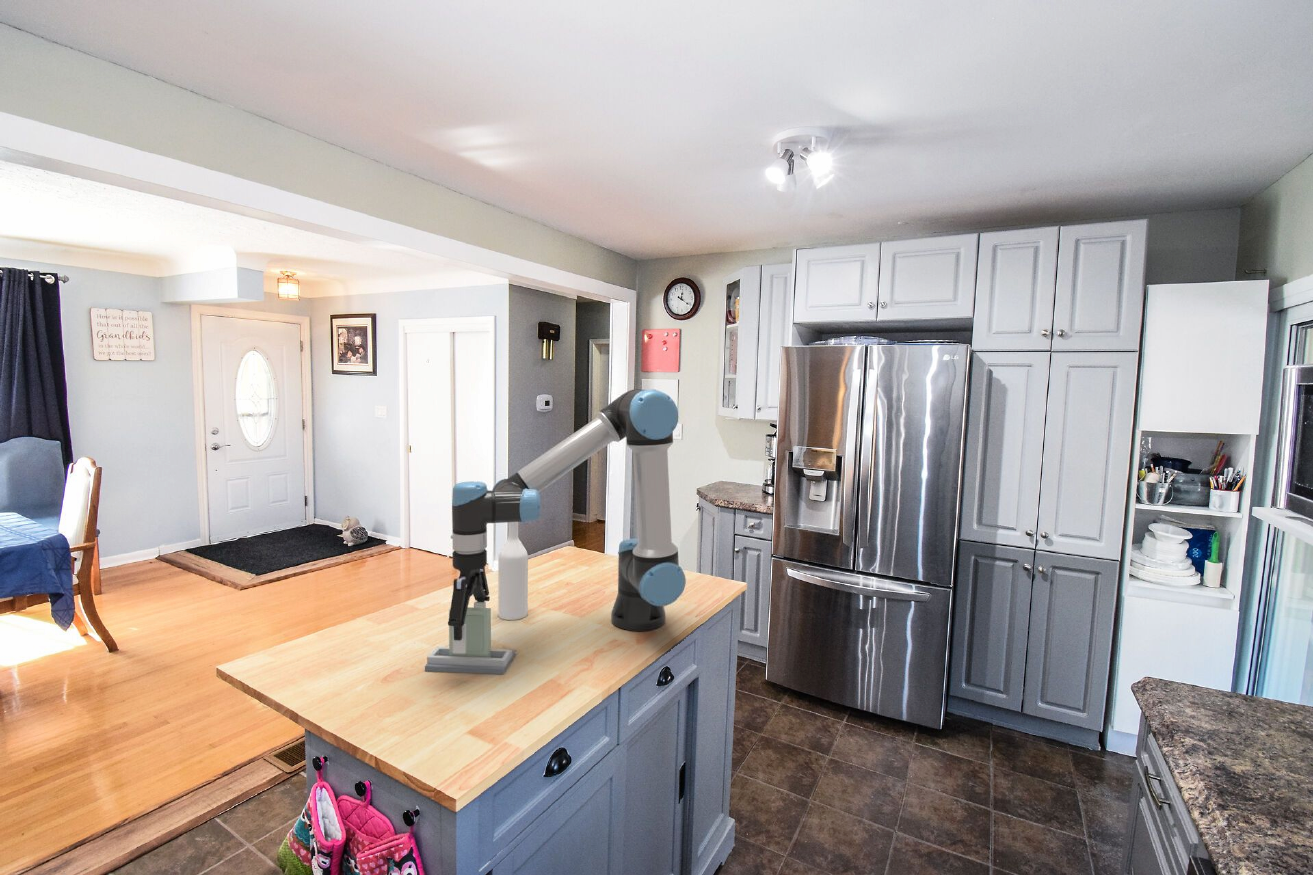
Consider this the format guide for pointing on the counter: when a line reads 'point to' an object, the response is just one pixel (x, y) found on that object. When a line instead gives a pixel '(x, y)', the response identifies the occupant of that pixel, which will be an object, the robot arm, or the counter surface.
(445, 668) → the base
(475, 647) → the door panel
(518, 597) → the bottle
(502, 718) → the counter surface
